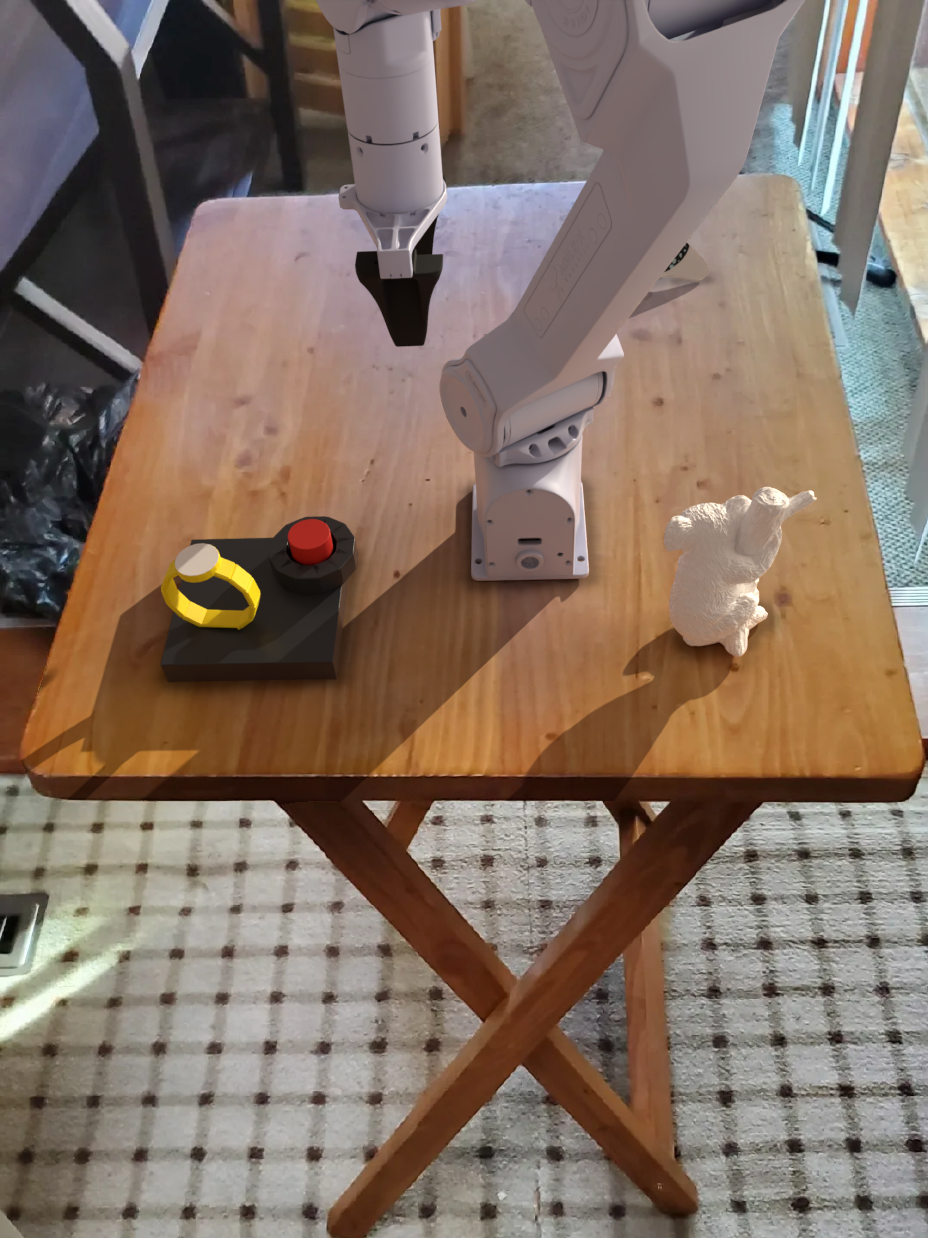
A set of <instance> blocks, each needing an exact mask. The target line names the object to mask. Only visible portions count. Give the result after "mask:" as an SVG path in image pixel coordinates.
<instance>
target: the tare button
mask: <svg viewBox="0 0 928 1238" xmlns="http://www.w3.org/2000/svg"><path fill="white" fill-rule="evenodd" d="M288 541H289V545H290V549H291V553H292V556H293V558H294V559H295V560H296V561H297V562H298V563H300V564H304V565H316V564H319V563H321V562H324V561H325V560H327V559H328V558H329V557H330V556H331V554H332V552H333V543H332V538H331V533H330V529H329V527H328V526H327V524H325V523H324V522H322V521H320V520H316V519H308V520H303V521H300V522H298V523H296V524H295V525H294V526H293V527H292V528H291V529H290V530H289V533H288Z"/></svg>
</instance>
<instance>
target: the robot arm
mask: <svg viewBox="0 0 928 1238" xmlns="http://www.w3.org/2000/svg"><path fill="white" fill-rule="evenodd" d="M477 1H478V0H315V2H316V3H317V5H318V8H319V10H320V12H321V13H322V15H323V16H324V18H325V20H326V21H327V22H328V23H329V25H331V26H332V30H333V37H334V42H335V44H334V45H335V50H336V58H337V65H338V72H339V81H340V86H341V94H342V101H343V102H342V103H343V108H344V116H345V123H346V129H347V136H348V137H347V138H348V143H349V144H348V145H349V152H350V158H351V166H352V174H353V180H354V183H352V184H344V185H342V186H341V187H340V188H339V192H338V205H339V208H340V209H342V210H354V211H356V213H357V214H358V216H359V218H360V220H361V221H362V223H363V225H364V227H365V229H366V231H367V232H368V234H369V236H370V237H371V239H372V241H373V243H374V245H375V247H376V250H365V251H364V250H363V251H356V255H355V263H354V270H355V274H356V277H357V279H358V282H359V283H360V284H361V285H362V286H363V287H364V288H365V289H366V291H368V293H369V294H370V295H371V297H372V298H373V300H374V301H375V303H376V304H377V307H378V308H379V310H380V313H381V315H382V318H383V321H384V323H385V325H386V329H387V331H388V334H389V336H390V338H391V340H392V342H393V344H394V346H395V347H398V348H399V347H400V348H401V347H403V348H404V347H423V346H425V343H426V340H427V334H428V325H429V314H430V313H429V312H430V304H431V300H432V295H433V292H434V289H435V287H436V285H437V284H438V282H439V280H440V277H441V274H442V272H443V268H444V267H443V266H444V254H443V253H434V254H433V251H434V238H435V233H436V226H437V223H438V222H437V221H438V219H439V215H440V213H441V212H442V210H443V208H444V207H445V205H446V204H447V201H448V177H447V176H446V175H445V174H444V173H443V164H442V163H443V162H442V149H441V137H440V136H441V135H440V123H439V111H438V110H439V109H438V95H437V82H436V67H435V66H436V65H435V53H434V43H433V42H434V41H436V40H437V39H438V38H439V37H440V32H442V19H441V16H442V15H441V14H442V13H441V12H442V11H441V10H444V9H450V8H456V7H462V6H463V7H464V6H467V5H471V4H473V3H475V2H477ZM805 1H806V0H524V2H525V3H526V4H527V5H528V6H530V7H531V8H532V9H533V12H534V15H535V17H536V20H537V22H538V24H539V27H540V29H541V32H542V35H543V38H544V41H545V43H546V46H547V49H548V52H549V55H550V58H551V60H552V63H553V66H554V69H555V72H556V75H557V79H558V80H559V83H560V87H561V89H562V92H563V95H564V97H565V98H564V99H565V100H566V104H567V106H568V109H569V111H570V114H571V117H572V119H573V123H574V125H575V128H576V131H577V134H578V137H579V138H580V140H581V141H582V142H583V143H586V144H588V145H591V146H593V147H595V148H598V149H601V150H603V151H602V153H601V154H600V156H599V158H598V160H597V161H596V163H595V164H594V167H593V169H592V171H591V173H590V174H589V176H588V178H587V179H586V181H585V183H584V185H583V187H582V188H581V190H580V192H579V194H578V195H577V198H576V199H575V201H574V203H573V205H572V206H571V208H570V210H569V211H568V214H567V216H566V217H565V218H564V221H563V222H562V224H561V226H560V228H559V230H558V232H557V233H556V235H555V237H554V239H553V241H552V242H551V244H550V246H549V247H548V249H547V251H546V253H545V255H544V257H543V258H542V260H541V262H540V264H539V266H538V268H537V269H536V270H535V273H534V274H533V276H532V278H531V279H530V282H529V284H528V286H527V287H526V289H525V291H524V293H523V294H522V295H521V298H520V300H519V301H518V303H517V306H516V307H515V309H514V310H513V312H512V314H511V316H510V317H509V318H507V319H506V320H505V321H504V322H502V323H501V324H499V325H498V326H497V327H495V328H494V329H492V330H491V331H489V332H488V333H486V334H485V335H484V336H483V337H481V338H480V339H478V340H477V341H475V342H474V343H473V344H472V345H470V346H469V347H468V348H466V350H465V351H464V354H463V356H462V357H461V356H460V357H456V358H453V359H450V360H447V362H445V363H444V365H443V367H442V369H441V374H440V381H439V397H440V402H441V406H442V409H443V412H444V414H445V417H446V419H447V421H448V424H449V426H450V428H451V430H452V431H453V433H454V434H455V436H456V437H457V439H458V440H459V441H460V442H461V443H462V445H464V447H466V448H467V449H468V450H470V451H471V452H473V464H474V465H473V466H474V481H475V483H473V486H472V507H471V557H470V558H471V562H470V563H471V564H470V566H471V567H470V575H471V579H472V580H474V581H477V582H486V581H489V582H490V581H531V580H532V581H533V580H534V581H536V580H537V581H539V580H575V579H576V580H577V579H578V580H579V579H580V580H582V579H586V578H587V577H589V574H590V566H589V552H588V540H587V526H586V525H587V523H586V514H585V513H586V512H585V499H584V487H583V485H584V484H583V482H582V458H583V432H584V430H585V429H586V428H587V427H588V426H590V425H592V424H593V423H594V407H597V406H599V405H602V404H604V403H605V402H606V401H607V400H608V399H609V398H610V396H611V394H612V392H613V387H614V377H615V372H616V369H617V367H618V365H619V364H620V362H621V361H622V360H623V359H624V358H625V353H624V351H623V348H622V344H621V342H620V339H619V336H618V334H617V333H618V332H619V331H620V330H621V329H622V327H624V325H625V323H627V321H628V320H629V318H630V317H631V316H632V314H633V313H634V312H635V311H636V309H637V308H638V306H639V305H640V304H641V302H642V301H643V300H645V297H646V296H647V295H648V293H649V292H650V291H651V290H652V288H653V287H655V284H656V283H657V282H658V281H659V280H660V279H659V278H660V277H661V275H662V274H663V273H664V271H665V270H666V269H667V267H668V266H669V265H670V264H671V262H672V261H673V260H674V258H675V257H676V256H677V254H678V253H679V252H680V251H681V249H682V248H683V247H684V245H685V244H686V243H688V242H689V240H690V239H691V238H692V236H693V235H694V234H695V233H696V231H697V230H698V229H699V228H700V226H701V225H702V223H703V222H704V221H705V220H706V219H707V217H708V215H709V214H710V213H711V212H712V211H713V209H714V208H715V207H716V205H717V204H718V202H720V200H721V199H722V198H723V196H724V195H725V193H726V192H727V191H728V189H729V188H730V187H731V186H732V184H733V183H734V181H735V180H736V179H737V178H738V176H739V174H740V173H741V171H742V169H743V167H744V165H745V163H746V160H747V157H748V153H749V150H750V146H751V143H752V139H753V136H754V132H755V128H756V124H757V121H758V118H759V114H760V110H761V106H762V102H763V99H764V95H765V91H766V88H767V85H768V80H769V75H770V73H771V69H772V66H773V61H774V58H775V54H776V51H777V48H778V43H779V40H780V37H781V36H782V35H783V33H784V31H785V30H786V28H787V27H788V26H789V24H790V23H791V22H792V20H793V18H794V17H795V16H796V14H797V13H798V11H799V10H800V9H801V7H802V6H803V5H804V3H805ZM689 33H690V34H689ZM686 34H689V35H687V36H686V37H685V38H682V39H681V40H672V39H675V38H678V37H681V36H684V35H686Z"/></svg>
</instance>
